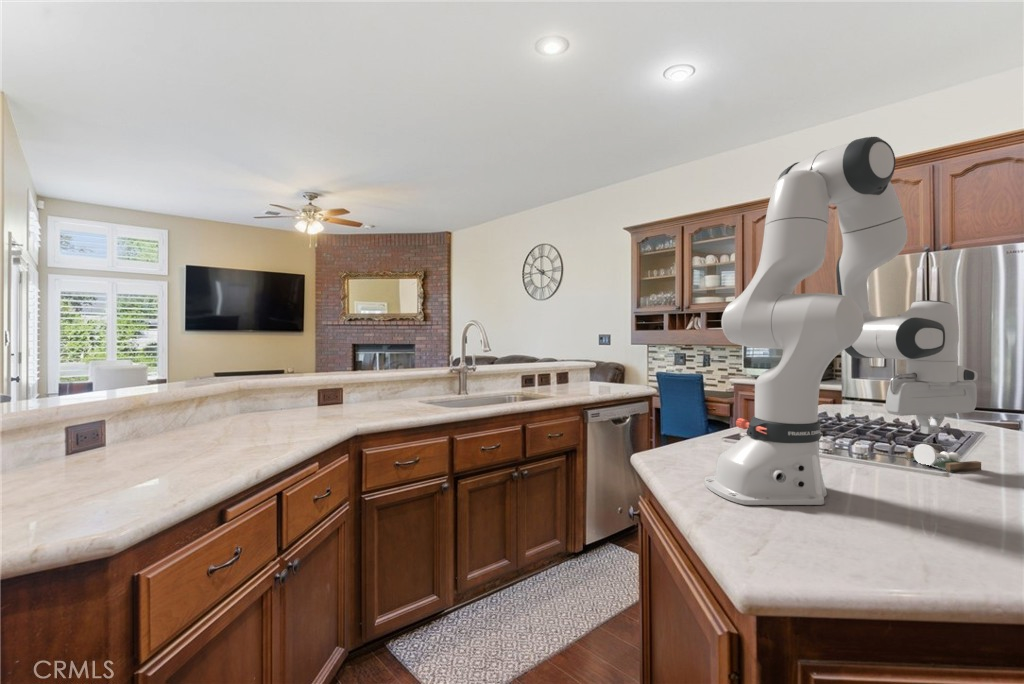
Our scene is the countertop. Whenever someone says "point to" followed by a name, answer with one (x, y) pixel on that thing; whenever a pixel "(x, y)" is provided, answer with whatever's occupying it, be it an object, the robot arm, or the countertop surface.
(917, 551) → the countertop surface
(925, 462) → the chess piece
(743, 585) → the countertop surface
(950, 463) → the cradle
